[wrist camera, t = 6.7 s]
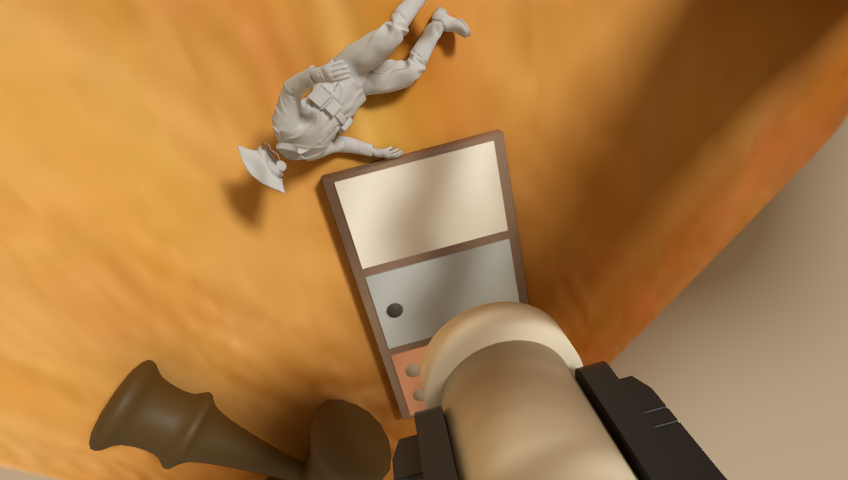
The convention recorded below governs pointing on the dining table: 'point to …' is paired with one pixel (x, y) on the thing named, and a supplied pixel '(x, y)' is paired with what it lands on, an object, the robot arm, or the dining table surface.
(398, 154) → the soldier figure
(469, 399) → the pawn
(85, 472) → the dining table surface
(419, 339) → the board
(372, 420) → the kendama
